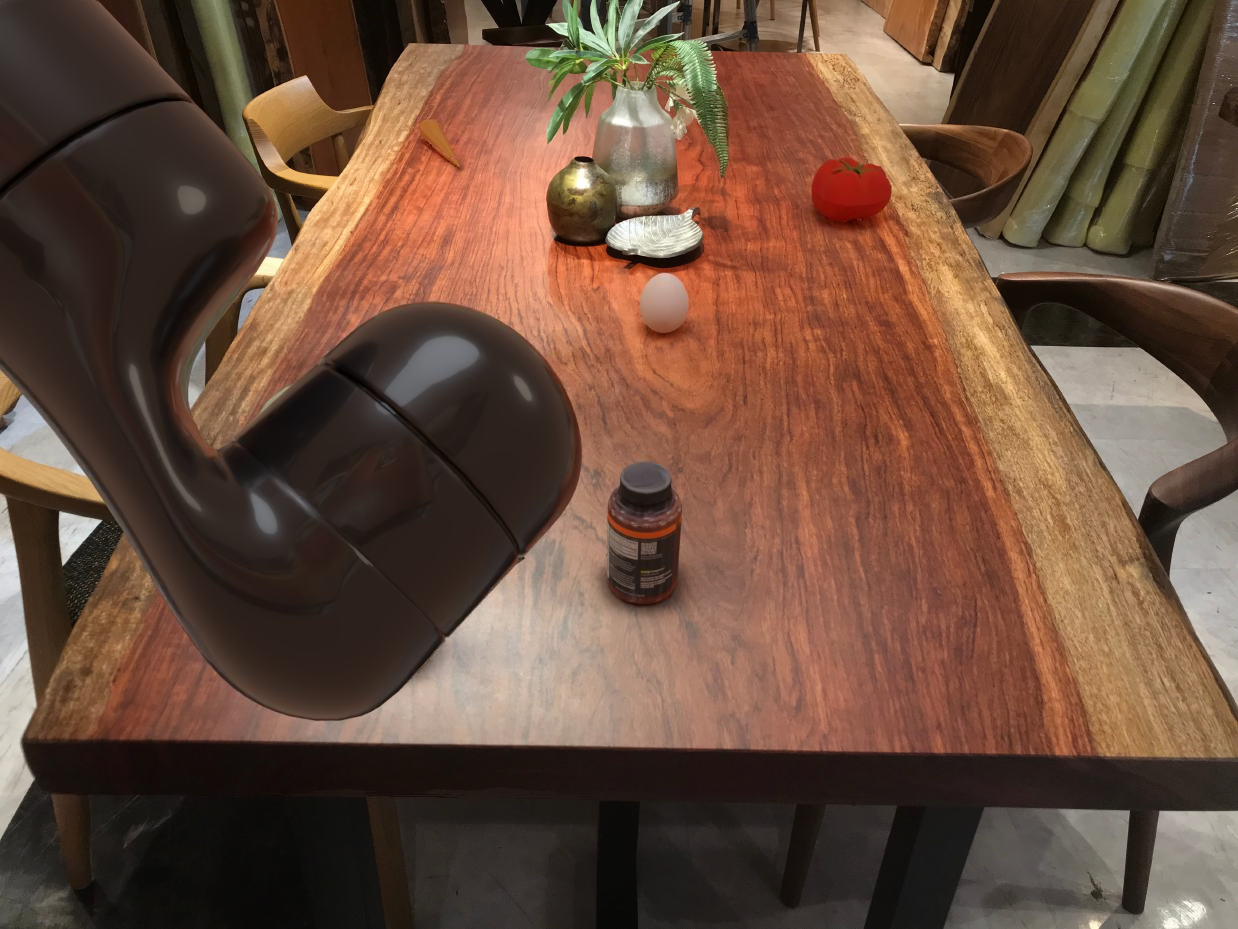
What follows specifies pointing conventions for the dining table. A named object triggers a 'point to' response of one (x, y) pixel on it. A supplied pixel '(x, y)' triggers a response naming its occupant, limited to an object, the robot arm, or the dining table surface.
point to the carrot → (437, 138)
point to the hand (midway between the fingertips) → (385, 574)
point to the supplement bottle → (643, 534)
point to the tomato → (850, 190)
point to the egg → (664, 303)
